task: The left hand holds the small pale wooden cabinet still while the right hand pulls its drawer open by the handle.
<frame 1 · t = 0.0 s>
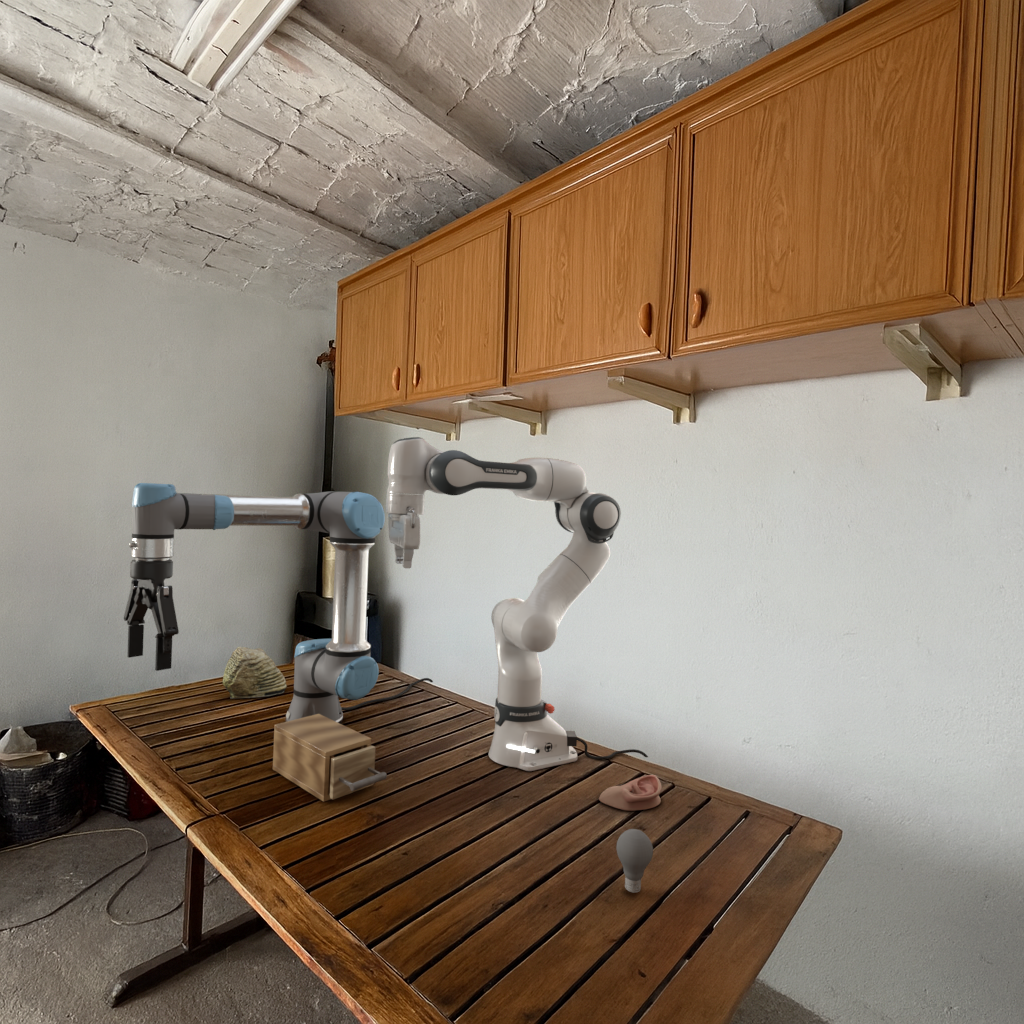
left hand: (148, 662, 129), 28 cm above the table, tool pointing down, fingers open, 13 cm apart
right hand: (402, 565, 148), 48 cm above the table, tool pointing down, fingers open, 8 cm apart
drawer: (335, 762, 139), point 5 cm above the table, slide at 1.2 cm
light bulb: (632, 891, 106), on the table
anatomical model: (630, 799, 139), on the table
cabinet: (320, 777, 143), on the table
fossil: (254, 694, 198), on the table
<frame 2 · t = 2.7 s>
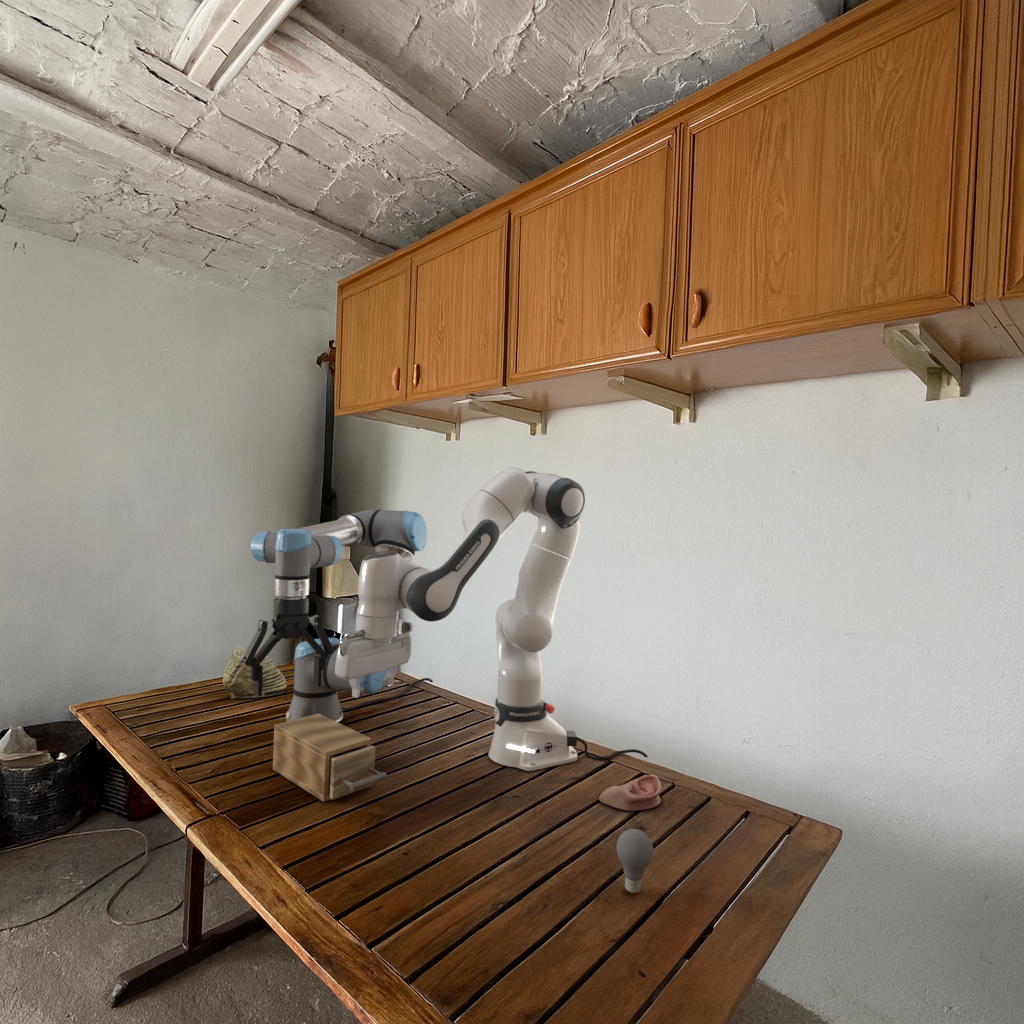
left hand: (288, 689, 144), 19 cm above the table, tool pointing down, fingers open, 13 cm apart
right hand: (372, 691, 135), 22 cm above the table, tool pointing down, fingers open, 8 cm apart
nothing on the table moved.
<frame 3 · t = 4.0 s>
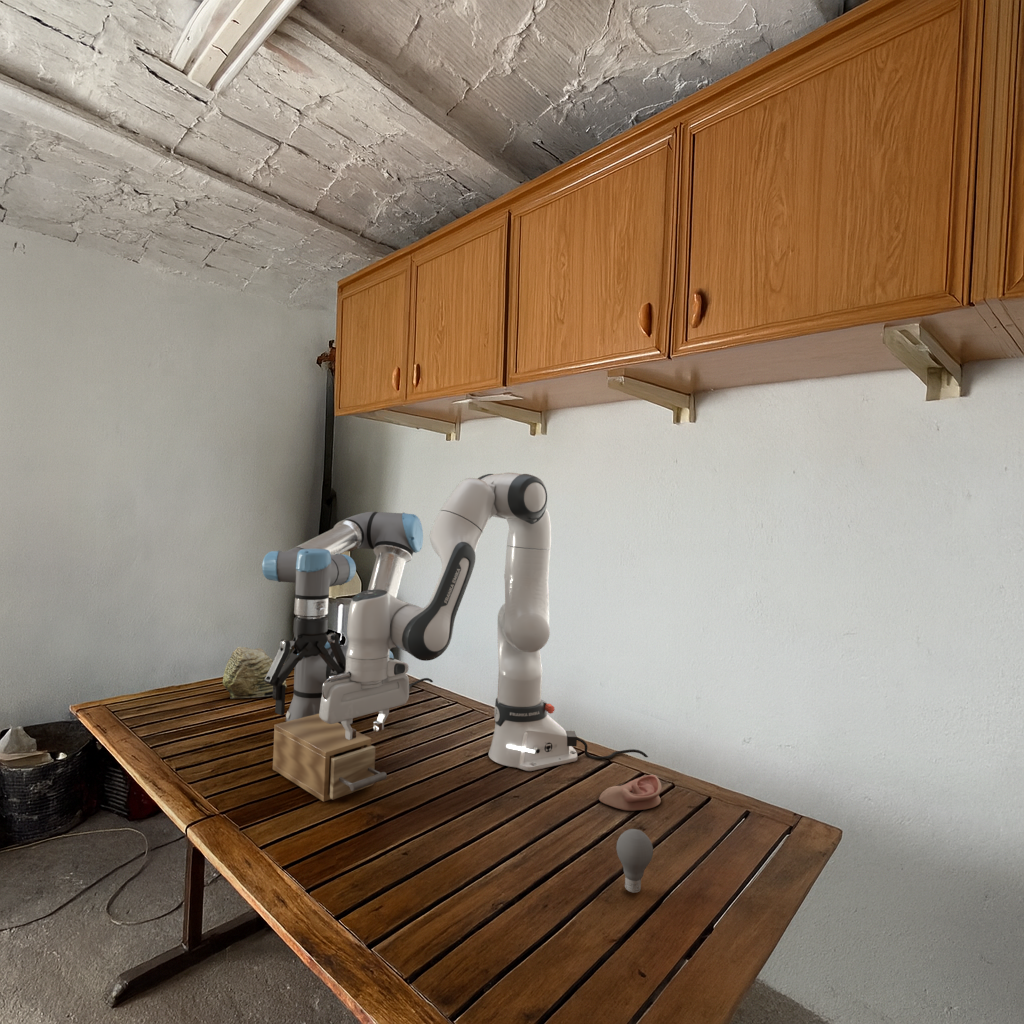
left hand: (307, 707, 147), 14 cm above the table, tool pointing down, fingers open, 13 cm apart
right hand: (364, 734, 132), 14 cm above the table, tool pointing down, fingers open, 5 cm apart
nothing on the table moved.
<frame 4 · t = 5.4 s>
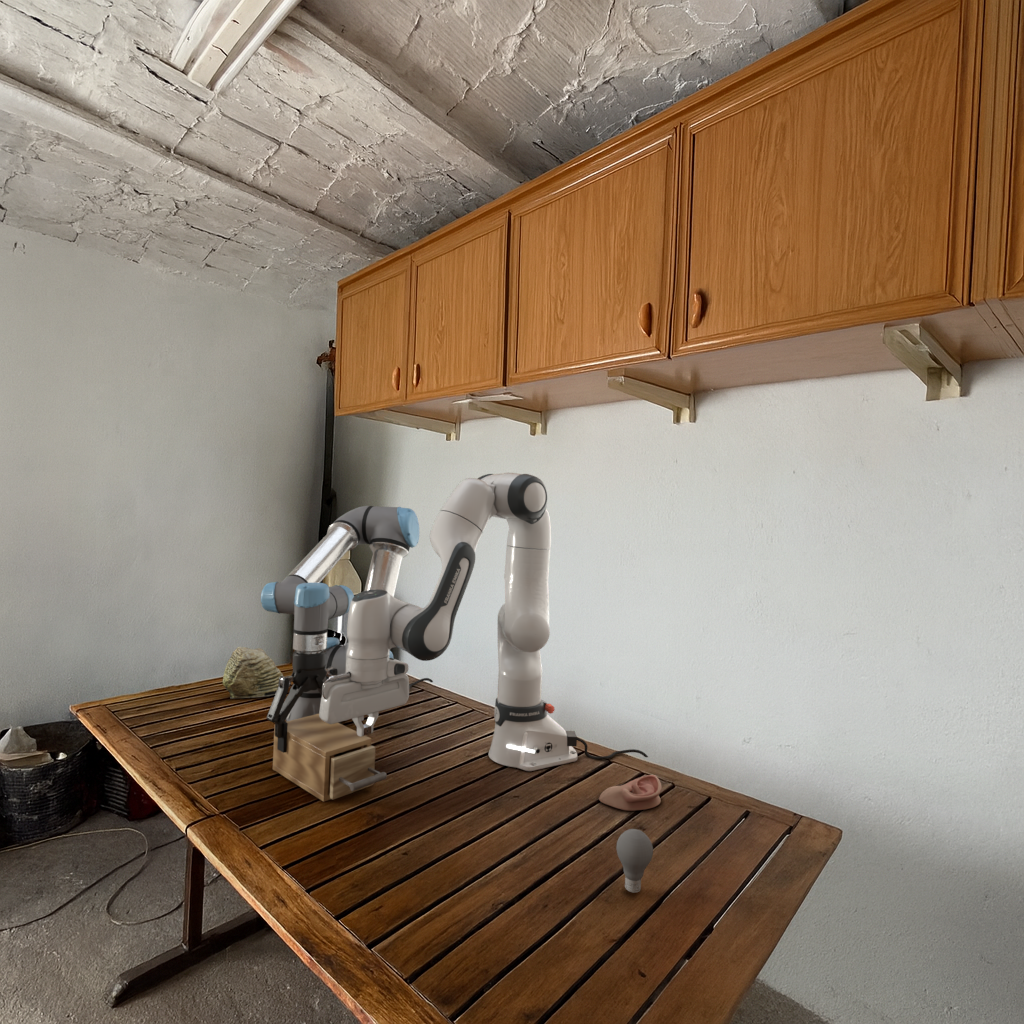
left hand: (306, 743, 147), 6 cm above the table, tool pointing down, fingers closed on cabinet, 11 cm apart
right hand: (364, 734, 132), 14 cm above the table, tool pointing down, fingers closed
cabinet: (320, 777, 143), on the table, touching left hand
everything else where it was.
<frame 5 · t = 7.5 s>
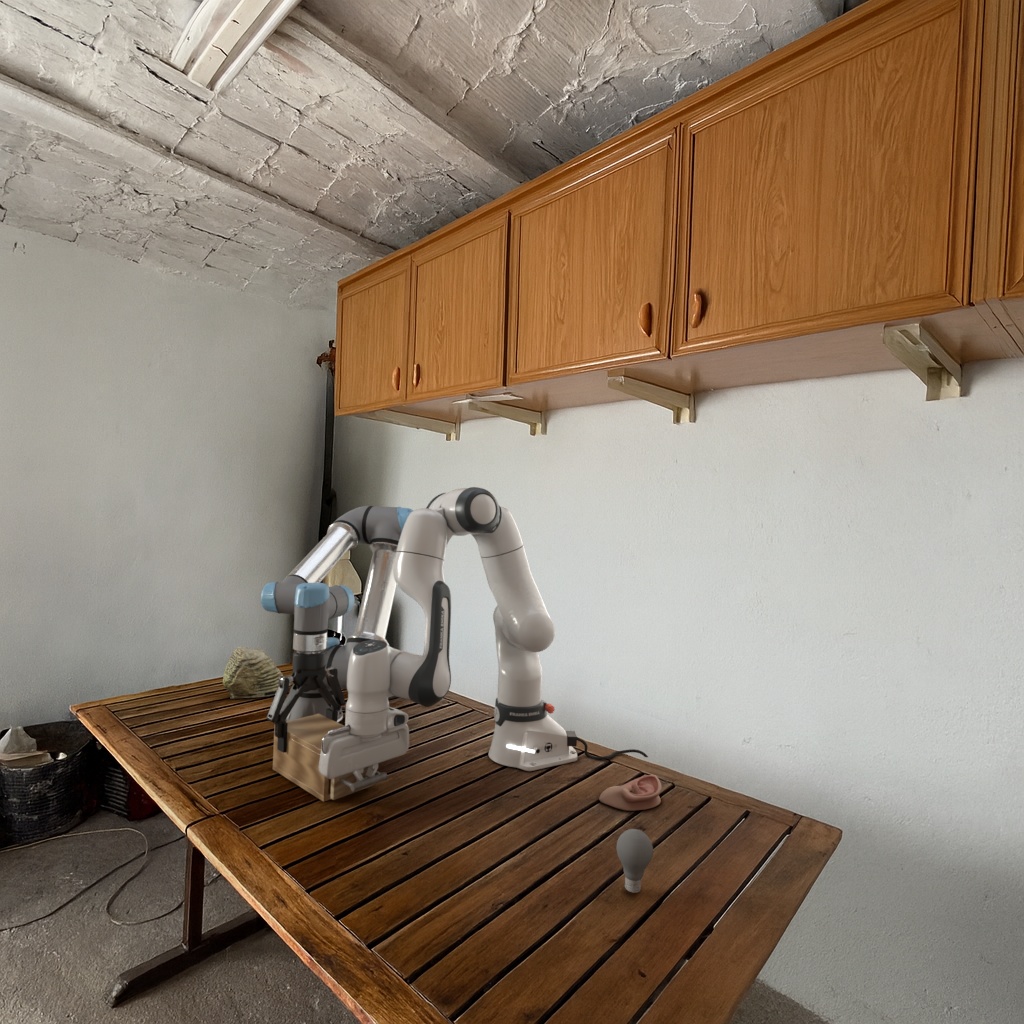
left hand: (306, 743, 147), 6 cm above the table, tool pointing down, fingers closed on cabinet, 11 cm apart
right hand: (364, 786, 132), 4 cm above the table, tool pointing down, fingers closed, pressing on drawer
drawer: (336, 762, 139), point 5 cm above the table, slide at 1.4 cm, touching right hand
cabinet: (320, 777, 143), on the table, touching left hand
everything else where it was.
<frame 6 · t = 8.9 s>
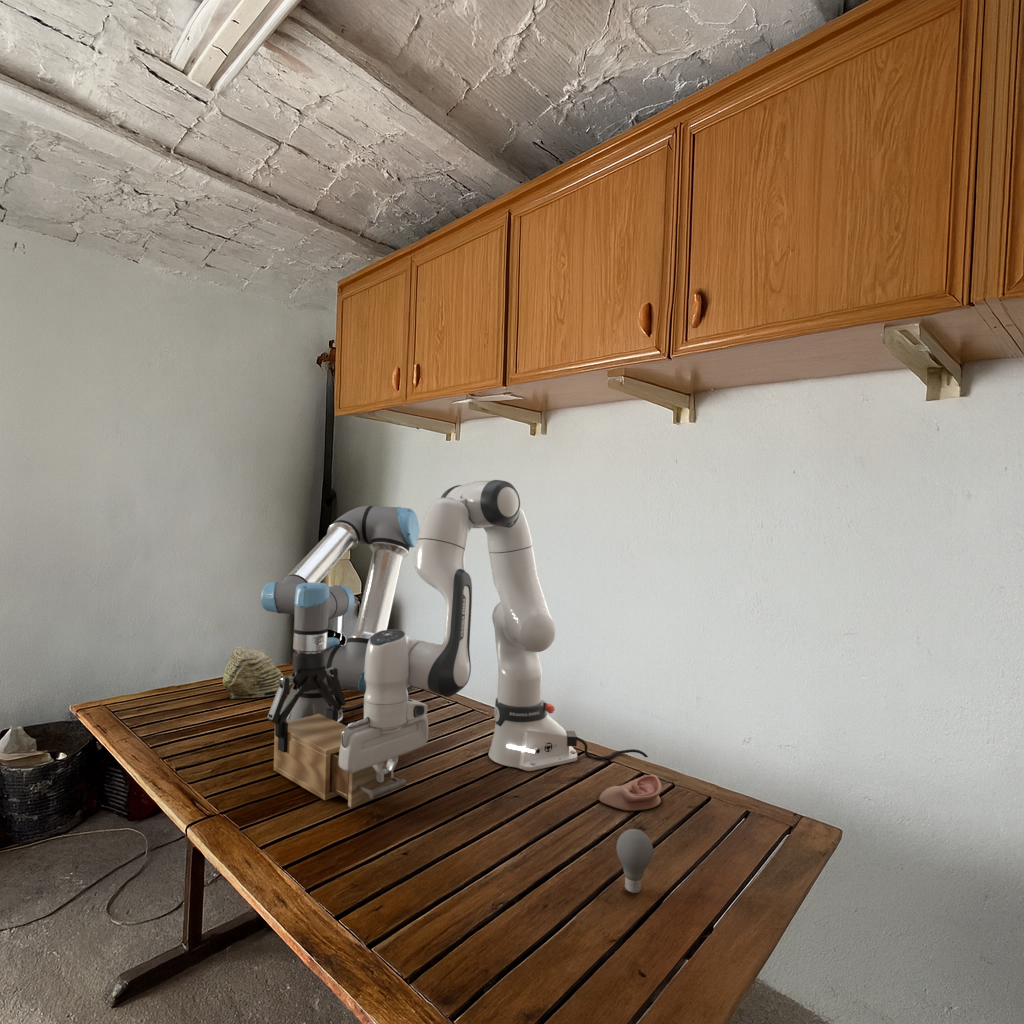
left hand: (306, 743, 147), 6 cm above the table, tool pointing down, fingers closed on cabinet, 11 cm apart
right hand: (384, 779, 128), 7 cm above the table, tool pointing down, fingers closed
drawer: (352, 769, 135), point 6 cm above the table, slide at 7.3 cm
cabinet: (321, 776, 143), on the table, touching left hand
everything else where it was.
when the left hand's fingers open (6 cm above the table, at t = 10.2 s): cabinet stays where it is, on the table.
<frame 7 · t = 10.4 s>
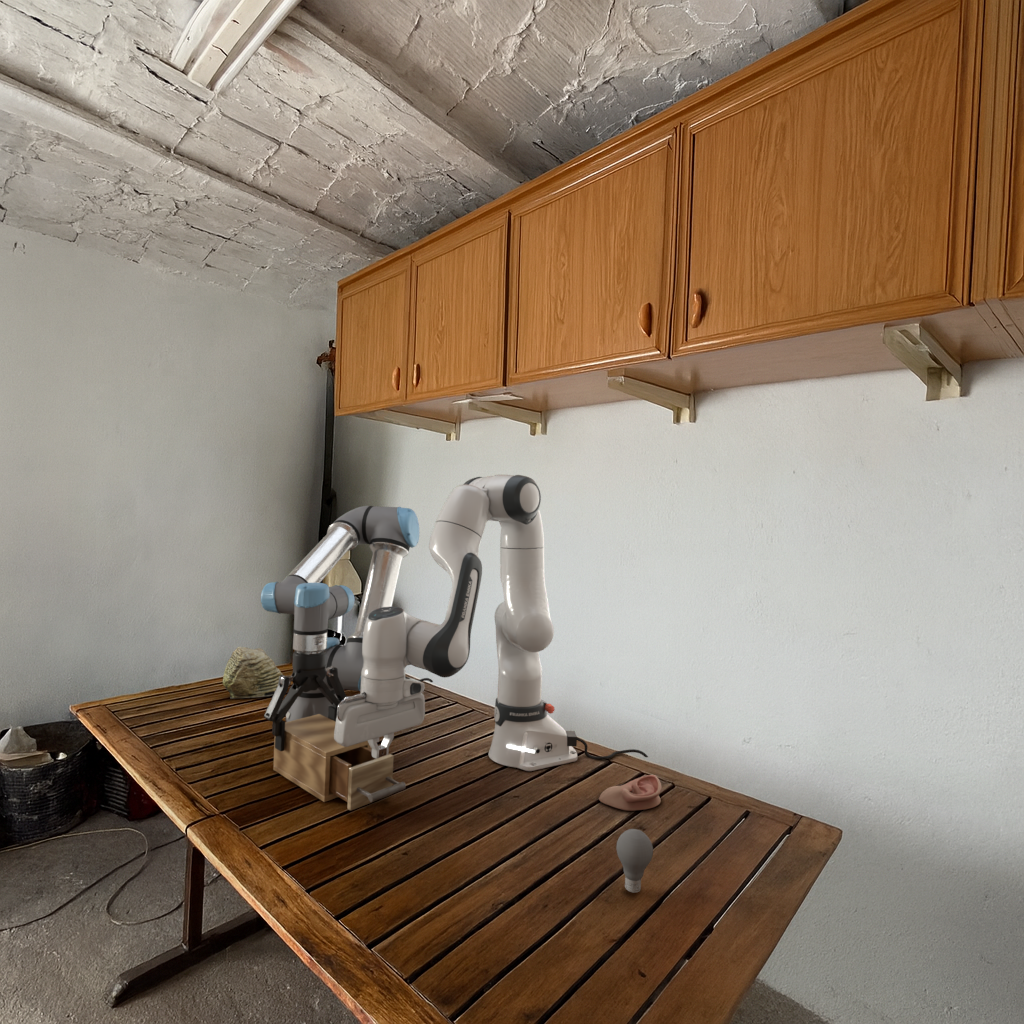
left hand: (306, 741, 147), 6 cm above the table, tool pointing down, fingers open, 13 cm apart
right hand: (379, 756, 129), 11 cm above the table, tool pointing down, fingers closed
cabinet: (320, 777, 143), on the table
everything else where it was.
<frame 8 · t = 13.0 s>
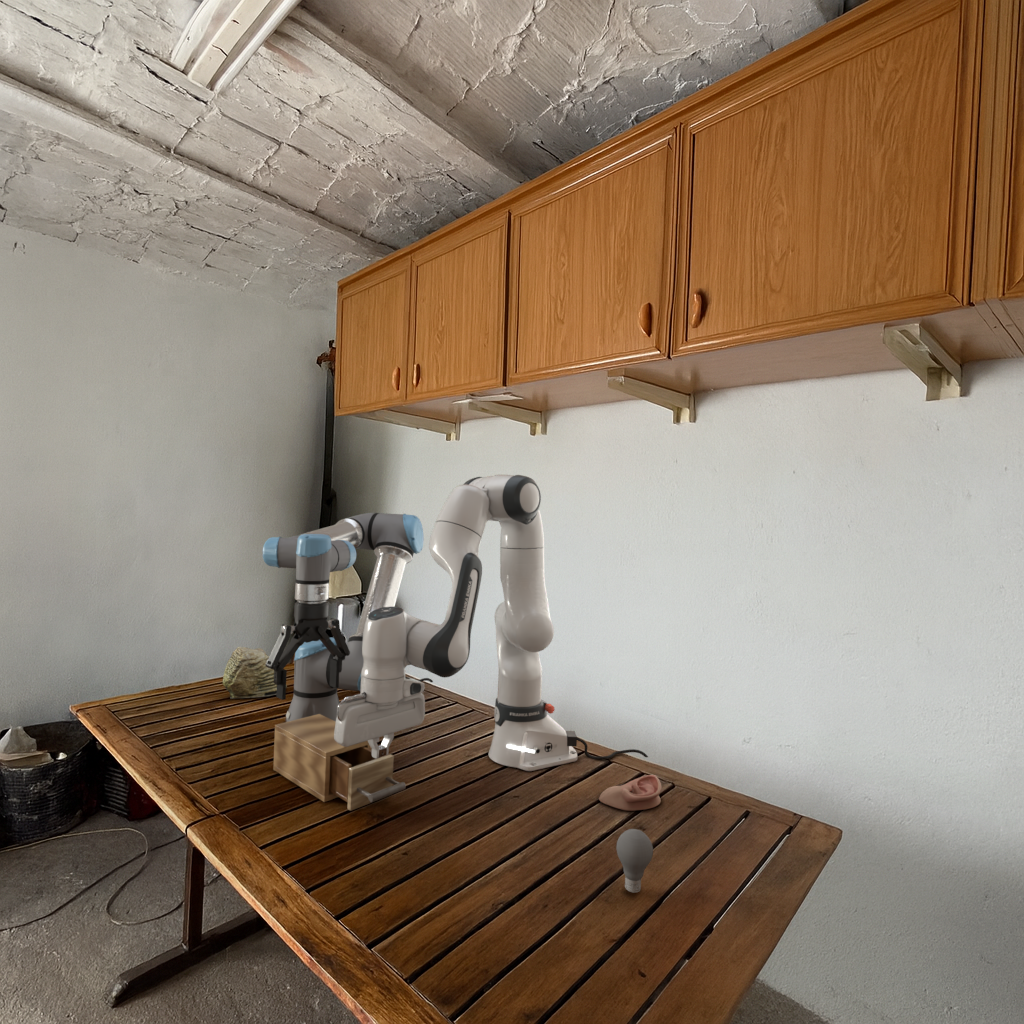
left hand: (308, 692, 147), 18 cm above the table, tool pointing down, fingers open, 13 cm apart
right hand: (379, 756, 129), 11 cm above the table, tool pointing down, fingers closed
nothing on the table moved.
at the end: drawer slide at 7.3 cm; cabinet tilted 0°; cabinet never tilted more than 2° during the clip; cabinet moved 0.3 cm from its start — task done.
